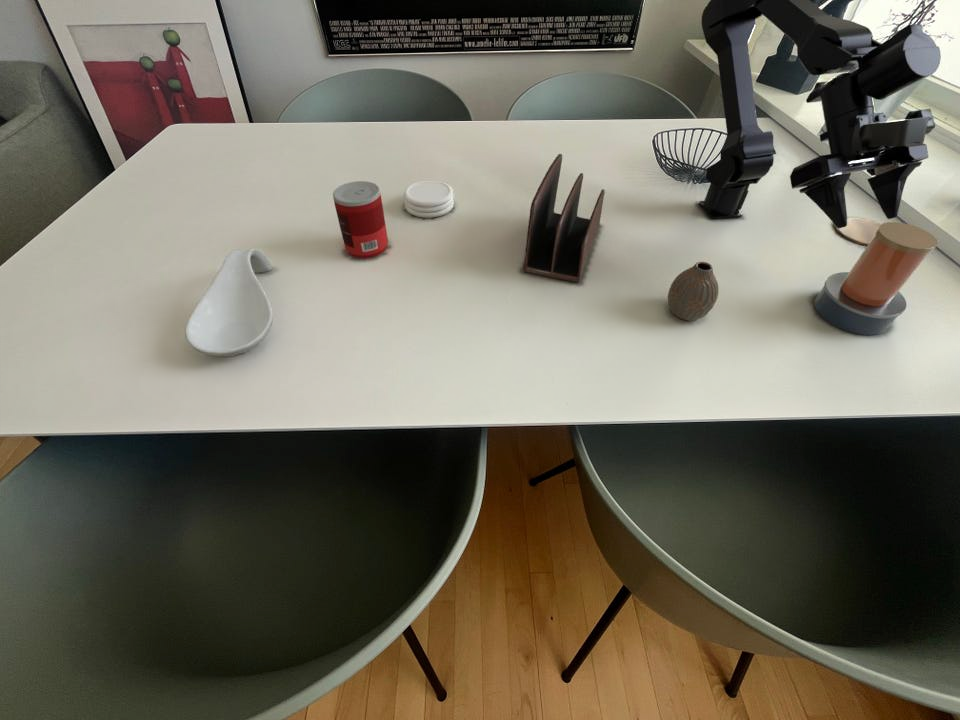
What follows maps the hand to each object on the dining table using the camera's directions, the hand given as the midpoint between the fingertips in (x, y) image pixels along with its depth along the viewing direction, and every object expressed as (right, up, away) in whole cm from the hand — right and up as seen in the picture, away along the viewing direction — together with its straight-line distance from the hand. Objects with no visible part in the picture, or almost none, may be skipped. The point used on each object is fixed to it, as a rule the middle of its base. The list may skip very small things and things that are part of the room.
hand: (867, 222), depth 71 cm
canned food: (-78, 0, +18) cm, 80 cm away
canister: (+2, -10, +2) cm, 10 cm away
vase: (-25, -13, +6) cm, 28 cm away
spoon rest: (-94, -13, +5) cm, 95 cm away
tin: (+2, -13, +5) cm, 14 cm away
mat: (+17, +4, +22) cm, 28 cm away
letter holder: (-42, 0, +18) cm, 45 cm away
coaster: (-68, +11, +29) cm, 74 cm away
